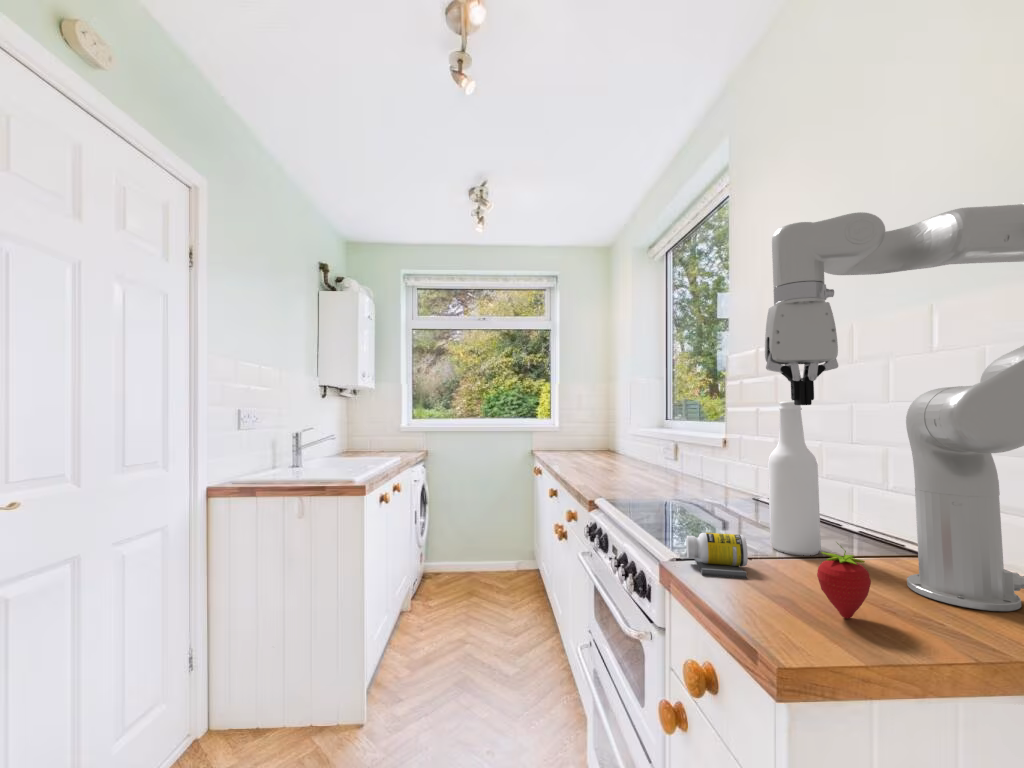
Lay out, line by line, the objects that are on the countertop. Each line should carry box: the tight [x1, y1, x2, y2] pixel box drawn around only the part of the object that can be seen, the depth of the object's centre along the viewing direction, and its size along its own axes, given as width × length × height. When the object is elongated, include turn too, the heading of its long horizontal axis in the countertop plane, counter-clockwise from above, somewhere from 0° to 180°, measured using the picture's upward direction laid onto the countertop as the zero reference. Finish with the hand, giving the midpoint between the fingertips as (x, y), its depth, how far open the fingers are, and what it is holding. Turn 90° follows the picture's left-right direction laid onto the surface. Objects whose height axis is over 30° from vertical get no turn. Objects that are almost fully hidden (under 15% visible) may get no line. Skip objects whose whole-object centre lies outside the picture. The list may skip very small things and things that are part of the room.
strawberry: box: [816, 541, 872, 620], centre depth 65 cm, size 6×8×10 cm
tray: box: [694, 558, 748, 579], centre depth 87 cm, size 7×12×1 cm, turn 167°
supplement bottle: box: [685, 532, 749, 567], centre depth 87 cm, size 5×5×10 cm
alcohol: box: [767, 400, 822, 557], centre depth 97 cm, size 9×9×30 cm
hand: (802, 404), depth 80 cm, fingers closed
